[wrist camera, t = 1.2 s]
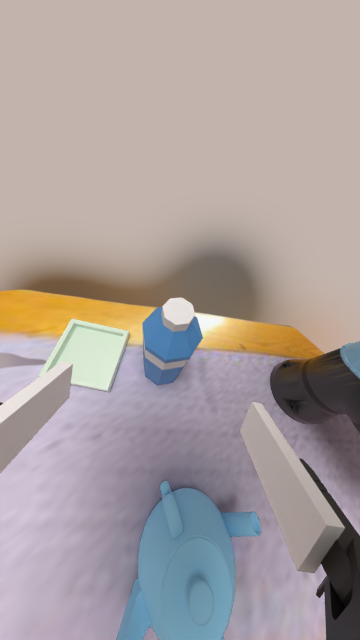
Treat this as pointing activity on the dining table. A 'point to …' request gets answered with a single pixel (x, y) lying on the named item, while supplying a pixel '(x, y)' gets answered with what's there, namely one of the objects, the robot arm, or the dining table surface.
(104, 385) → the tray
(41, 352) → the dining table surface
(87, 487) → the dining table surface
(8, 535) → the dining table surface
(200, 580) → the teapot
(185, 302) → the water bottle
